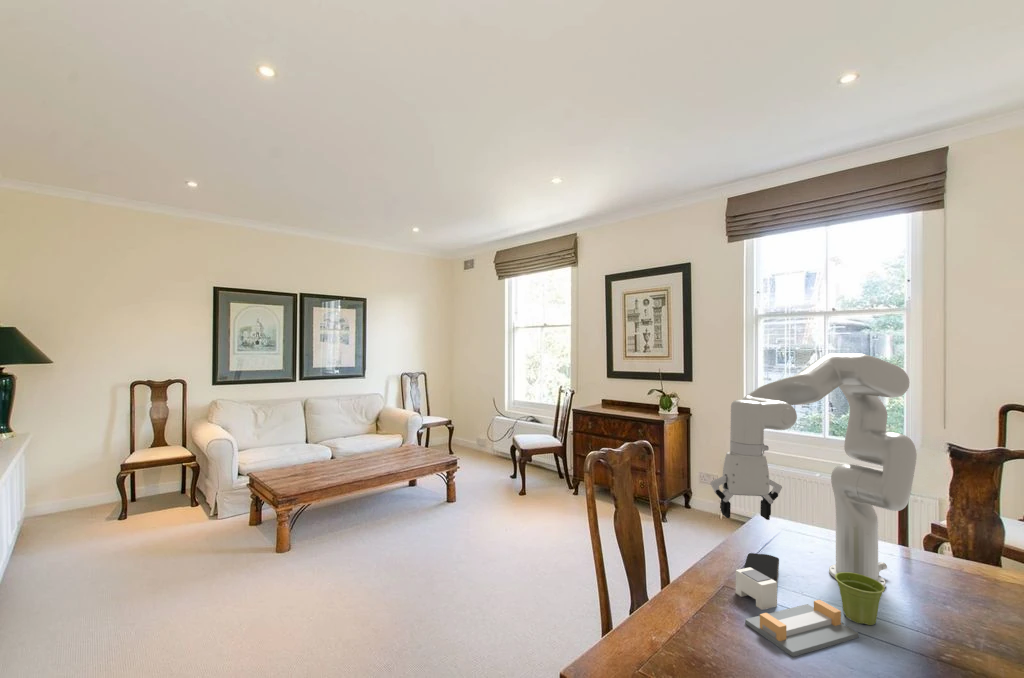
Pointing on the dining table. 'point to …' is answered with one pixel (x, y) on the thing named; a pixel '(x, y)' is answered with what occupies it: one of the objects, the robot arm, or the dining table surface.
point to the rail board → (803, 628)
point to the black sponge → (763, 564)
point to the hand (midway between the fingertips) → (745, 517)
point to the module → (756, 587)
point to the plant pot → (859, 596)
